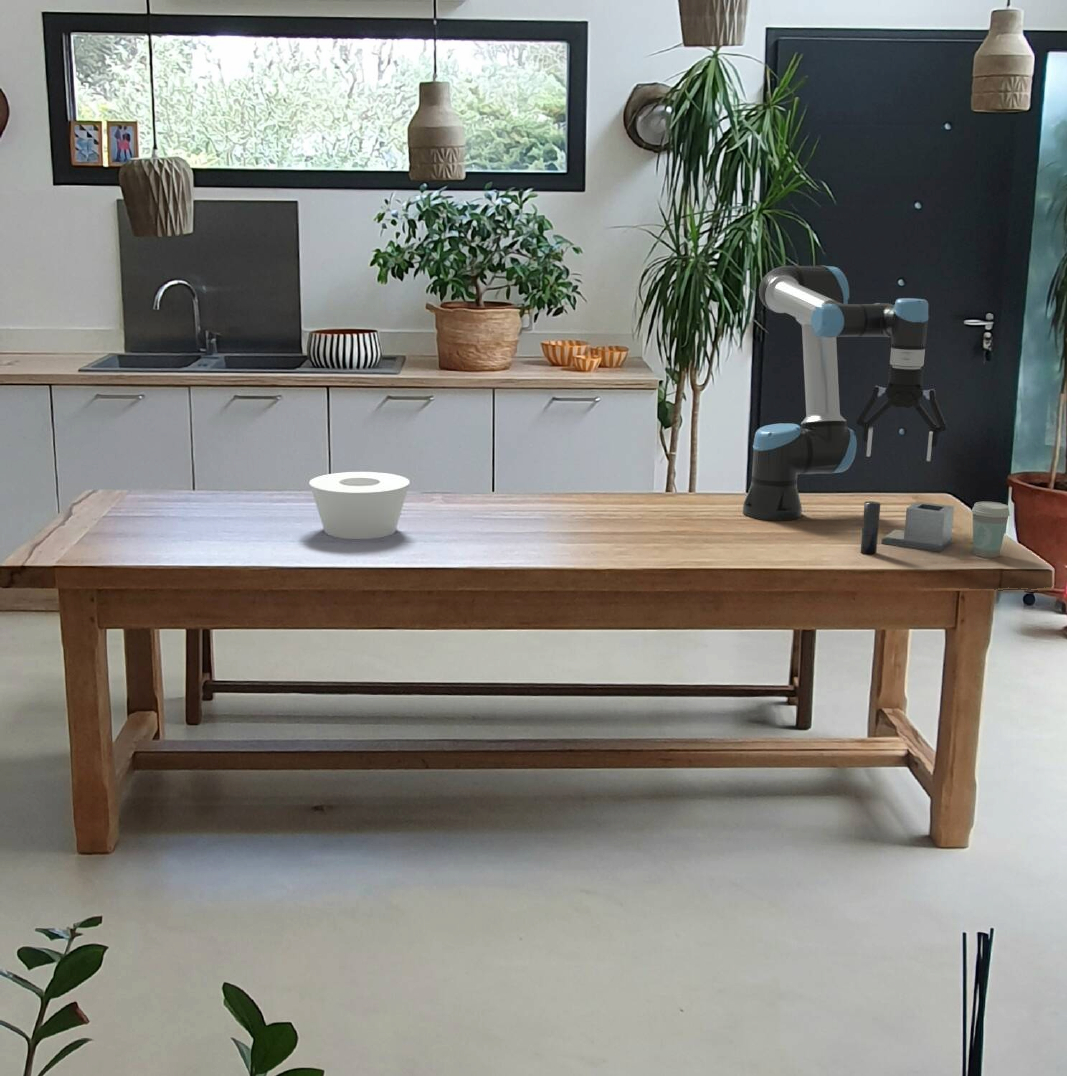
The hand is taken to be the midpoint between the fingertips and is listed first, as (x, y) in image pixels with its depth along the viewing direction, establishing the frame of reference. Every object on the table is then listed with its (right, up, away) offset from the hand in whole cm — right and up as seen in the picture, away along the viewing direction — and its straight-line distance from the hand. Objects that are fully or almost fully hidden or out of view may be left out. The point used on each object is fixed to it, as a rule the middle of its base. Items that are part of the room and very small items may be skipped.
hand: (898, 458), depth 315 cm
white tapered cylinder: (-127, -17, +12) cm, 129 cm away
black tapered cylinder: (-7, -22, +1) cm, 23 cm away
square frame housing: (+7, -20, +11) cm, 24 cm away
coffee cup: (+21, -23, +2) cm, 31 cm away
